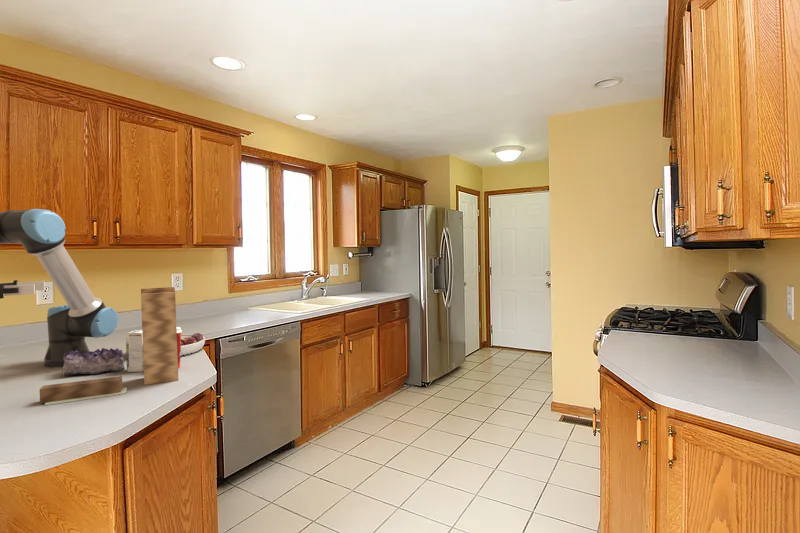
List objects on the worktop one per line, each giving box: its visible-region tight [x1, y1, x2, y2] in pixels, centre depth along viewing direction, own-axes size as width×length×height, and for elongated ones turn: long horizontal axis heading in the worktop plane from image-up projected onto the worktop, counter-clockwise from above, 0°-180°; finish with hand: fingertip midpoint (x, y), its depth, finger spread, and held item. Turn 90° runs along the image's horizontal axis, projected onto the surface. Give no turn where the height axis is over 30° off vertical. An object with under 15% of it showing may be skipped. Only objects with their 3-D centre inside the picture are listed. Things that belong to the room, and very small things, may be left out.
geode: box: [62, 347, 126, 376], centre depth 164 cm, size 20×12×10 cm, turn 108°
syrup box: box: [125, 329, 144, 373], centre depth 165 cm, size 6×6×14 cm
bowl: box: [180, 332, 206, 357], centre depth 193 cm, size 30×30×8 cm
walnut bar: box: [39, 375, 123, 404], centre depth 135 cm, size 20×4×4 cm, turn 116°
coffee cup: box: [176, 326, 183, 369], centre depth 167 cm, size 8×8×15 cm
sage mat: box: [44, 387, 128, 406], centre depth 136 cm, size 20×6×1 cm, turn 119°
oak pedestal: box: [140, 286, 179, 386], centre depth 153 cm, size 10×10×31 cm
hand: (39, 287), depth 132 cm, fingers open, 13 cm apart
